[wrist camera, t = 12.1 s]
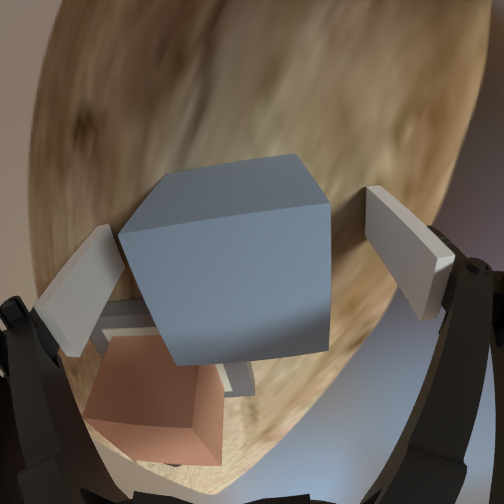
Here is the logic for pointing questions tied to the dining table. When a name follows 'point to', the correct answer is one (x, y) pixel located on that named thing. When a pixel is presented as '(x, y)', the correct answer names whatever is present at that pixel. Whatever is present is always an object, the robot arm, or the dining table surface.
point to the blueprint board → (141, 324)
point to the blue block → (235, 261)
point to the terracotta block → (157, 404)
